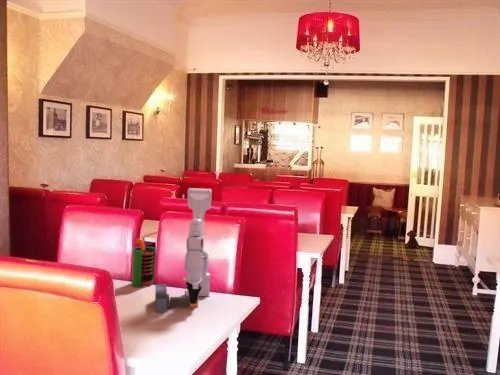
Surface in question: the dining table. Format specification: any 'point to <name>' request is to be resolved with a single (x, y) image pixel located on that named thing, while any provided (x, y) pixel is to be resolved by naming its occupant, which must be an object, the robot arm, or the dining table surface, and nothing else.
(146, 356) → the dining table surface
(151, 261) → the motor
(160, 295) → the housing
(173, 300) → the plug
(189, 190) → the robot arm
